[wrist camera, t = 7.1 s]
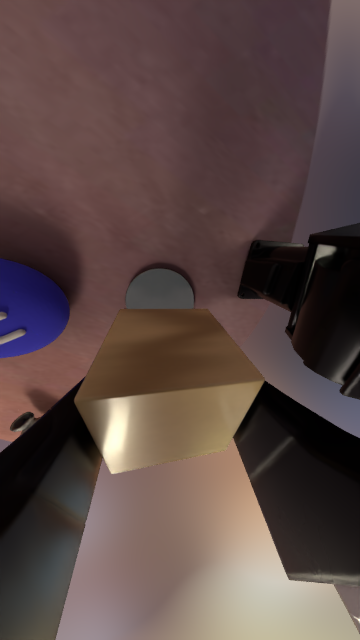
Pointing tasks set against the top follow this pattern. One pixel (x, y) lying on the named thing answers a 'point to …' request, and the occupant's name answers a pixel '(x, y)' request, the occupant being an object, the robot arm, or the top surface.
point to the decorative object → (29, 309)
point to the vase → (23, 422)
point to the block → (165, 388)
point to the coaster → (159, 291)
